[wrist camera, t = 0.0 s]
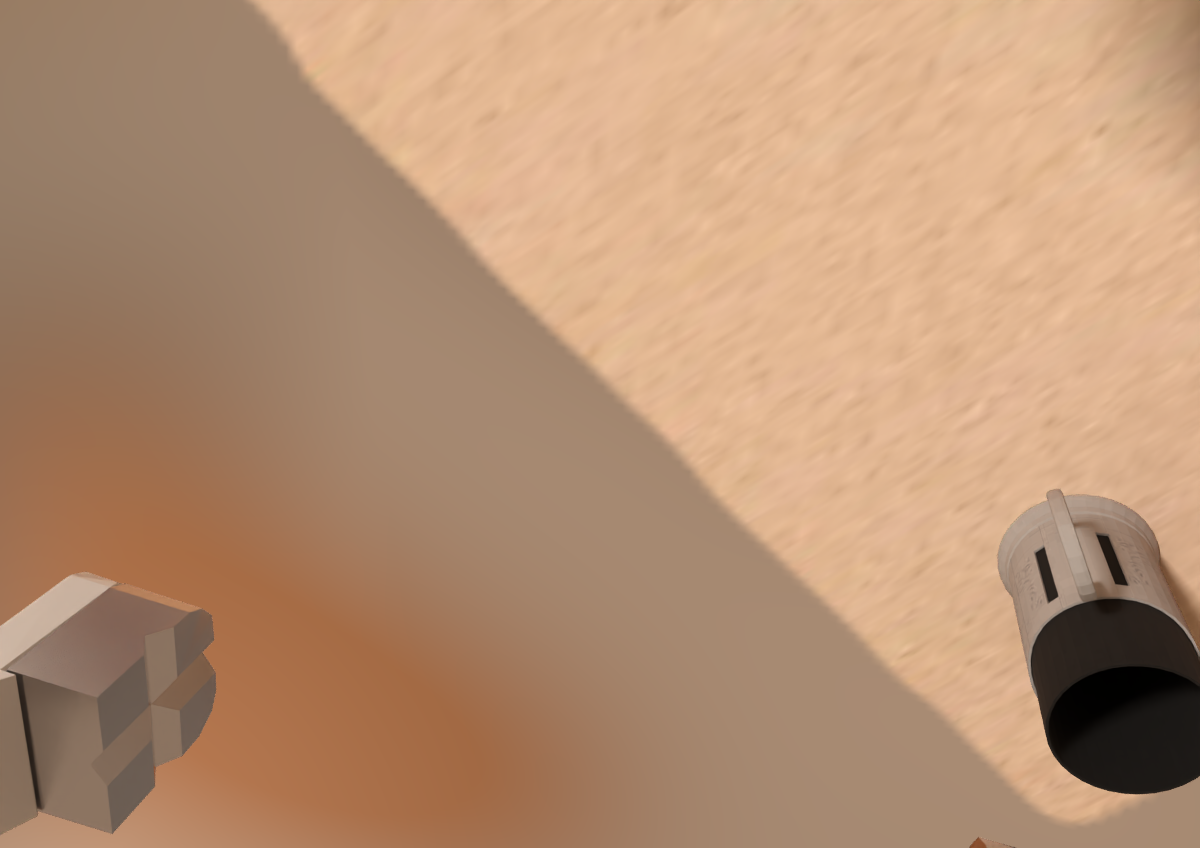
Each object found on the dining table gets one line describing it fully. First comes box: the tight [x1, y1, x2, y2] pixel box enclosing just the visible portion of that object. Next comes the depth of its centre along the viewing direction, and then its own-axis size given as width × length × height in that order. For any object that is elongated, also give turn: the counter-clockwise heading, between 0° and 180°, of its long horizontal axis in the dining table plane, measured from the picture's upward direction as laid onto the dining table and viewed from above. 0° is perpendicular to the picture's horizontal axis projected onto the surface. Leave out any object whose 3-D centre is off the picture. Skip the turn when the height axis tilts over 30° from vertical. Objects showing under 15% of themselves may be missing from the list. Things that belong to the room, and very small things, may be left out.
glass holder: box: [998, 489, 1200, 794], centre depth 51 cm, size 9×14×15 cm, turn 25°
